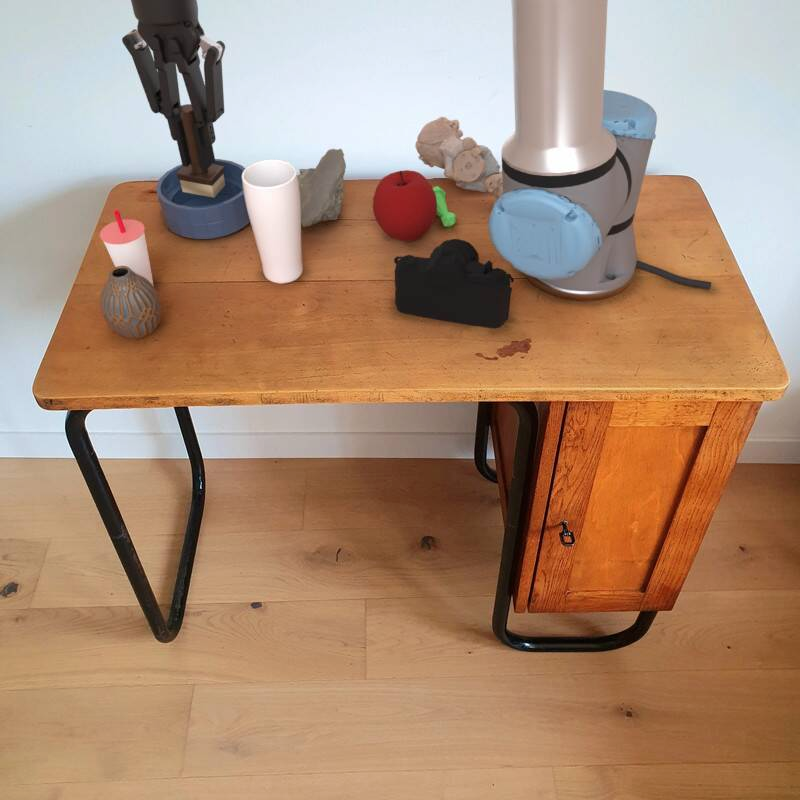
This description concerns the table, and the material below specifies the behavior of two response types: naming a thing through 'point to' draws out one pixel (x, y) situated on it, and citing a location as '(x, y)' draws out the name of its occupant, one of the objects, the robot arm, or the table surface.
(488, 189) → the figurine
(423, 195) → the apple
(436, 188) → the game piece
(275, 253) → the drinking glass
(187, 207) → the bowl
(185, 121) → the brush
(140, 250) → the cup
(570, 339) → the table surface
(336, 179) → the grey rock
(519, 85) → the robot arm
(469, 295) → the film camera
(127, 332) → the vase
